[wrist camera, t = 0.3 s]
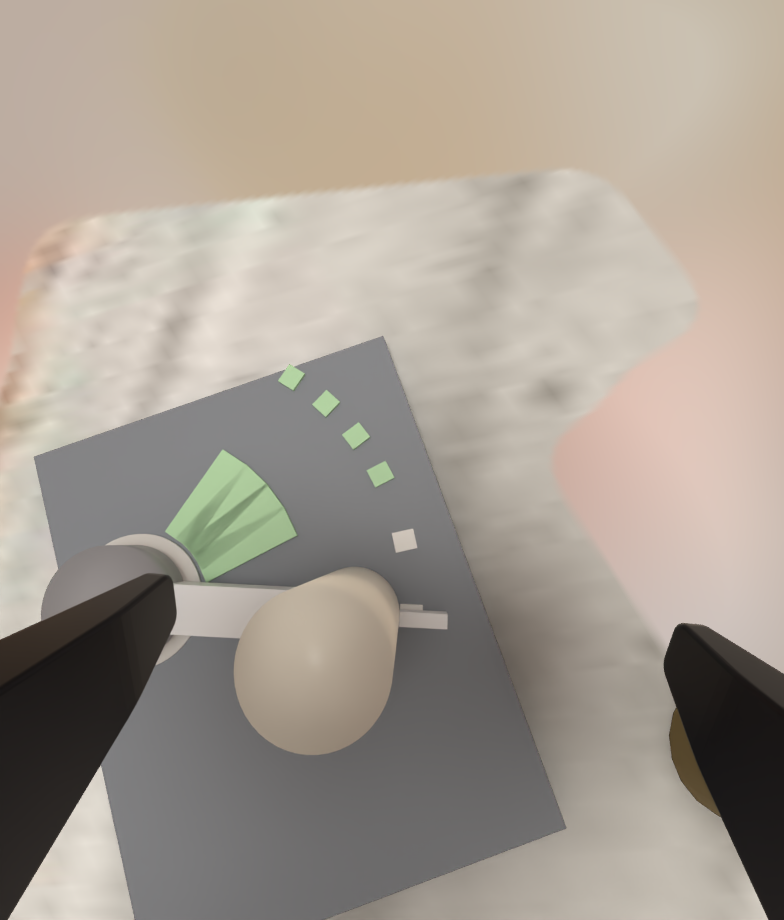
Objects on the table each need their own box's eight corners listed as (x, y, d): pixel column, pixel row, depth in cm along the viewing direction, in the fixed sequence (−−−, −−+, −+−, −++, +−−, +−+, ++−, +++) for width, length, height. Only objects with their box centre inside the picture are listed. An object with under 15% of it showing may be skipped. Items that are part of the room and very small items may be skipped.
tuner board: (558, 814, 20) (567, 831, 19) (162, 964, 20) (146, 990, 19) (383, 342, 24) (382, 332, 23) (48, 458, 24) (30, 453, 23)
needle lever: (67, 657, 21) (-188, 744, 12) (84, 542, 22) (-141, 543, 13) (444, 679, 20) (473, 789, 11) (447, 559, 21) (476, 573, 12)
